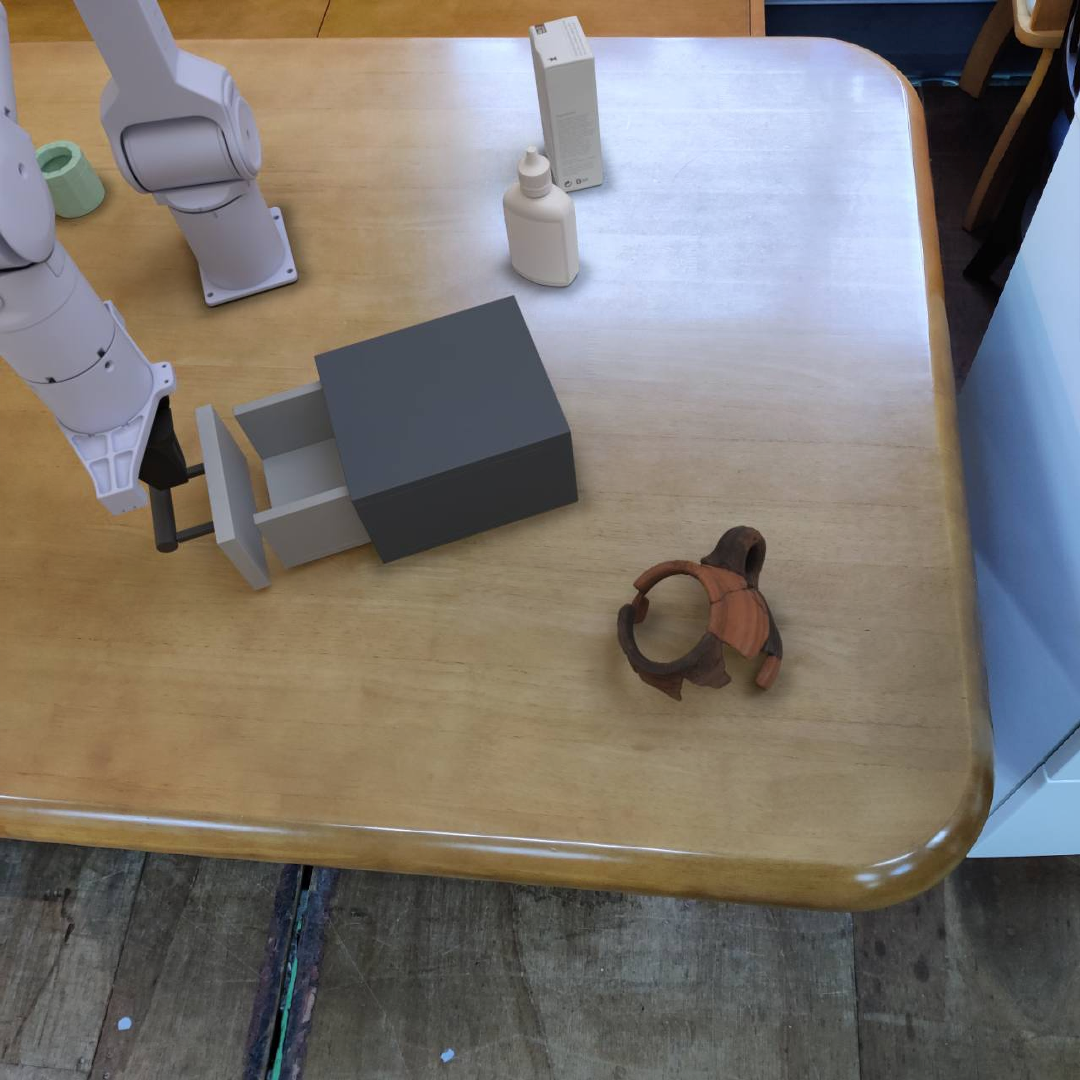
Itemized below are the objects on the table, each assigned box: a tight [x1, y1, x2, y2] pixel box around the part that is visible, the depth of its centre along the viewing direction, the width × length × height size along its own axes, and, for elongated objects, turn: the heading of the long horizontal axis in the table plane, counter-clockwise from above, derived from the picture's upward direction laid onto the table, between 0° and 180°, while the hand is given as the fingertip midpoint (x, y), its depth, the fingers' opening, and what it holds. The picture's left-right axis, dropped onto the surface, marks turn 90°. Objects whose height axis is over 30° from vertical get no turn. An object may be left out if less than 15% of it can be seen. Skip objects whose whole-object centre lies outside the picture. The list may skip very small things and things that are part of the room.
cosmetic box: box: [528, 15, 604, 193], centre depth 80 cm, size 6×4×12 cm
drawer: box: [147, 380, 372, 591], centre depth 66 cm, size 18×11×7 cm, turn 108°
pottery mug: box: [616, 525, 784, 702], centre depth 60 cm, size 12×10×8 cm
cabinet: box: [313, 294, 579, 564], centre depth 67 cm, size 15×13×9 cm
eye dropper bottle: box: [502, 145, 581, 287], centre depth 74 cm, size 4×6×12 cm
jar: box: [35, 140, 106, 219], centre depth 87 cm, size 5×5×4 cm
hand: (172, 478), depth 62 cm, fingers closed
